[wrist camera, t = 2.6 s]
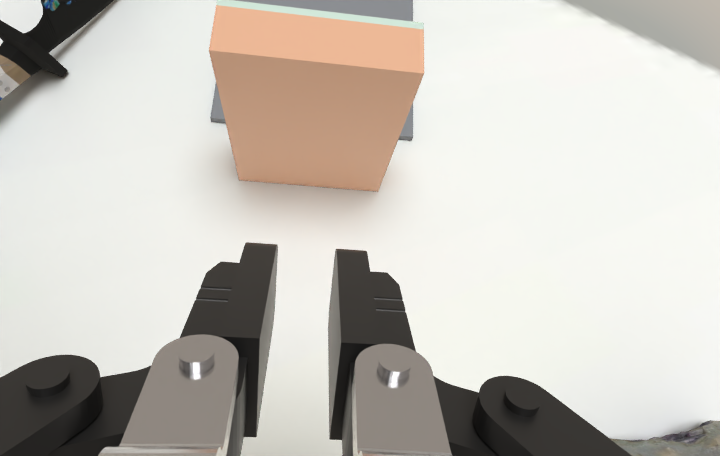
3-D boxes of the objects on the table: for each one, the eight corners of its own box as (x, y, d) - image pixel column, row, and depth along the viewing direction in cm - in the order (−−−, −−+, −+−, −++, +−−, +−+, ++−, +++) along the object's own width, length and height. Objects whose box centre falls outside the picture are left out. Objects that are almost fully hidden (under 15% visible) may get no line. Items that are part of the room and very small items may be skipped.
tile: (239, 180, 36) (208, 50, 23) (243, 142, 37) (217, -2, 24) (377, 191, 37) (423, 73, 24) (378, 155, 38) (423, 22, 25)
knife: (-90, 197, 32) (-139, 159, 28) (-127, 170, 32) (-181, 129, 28) (224, -44, 45) (221, -93, 41) (196, -62, 46) (191, -112, 42)
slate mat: (211, 121, 37) (210, 117, 37) (234, -26, 42) (233, -30, 42) (411, 140, 39) (413, 136, 39) (411, -4, 44) (412, -8, 43)
